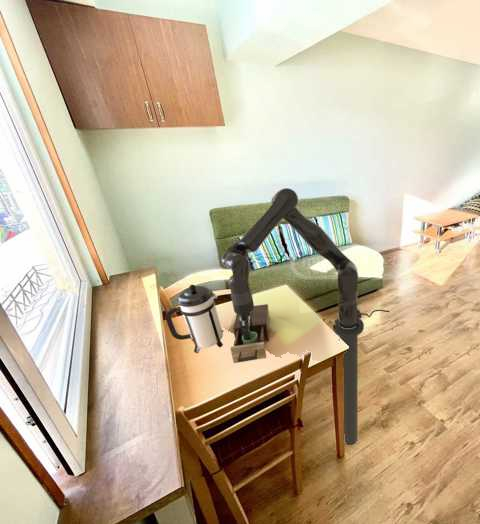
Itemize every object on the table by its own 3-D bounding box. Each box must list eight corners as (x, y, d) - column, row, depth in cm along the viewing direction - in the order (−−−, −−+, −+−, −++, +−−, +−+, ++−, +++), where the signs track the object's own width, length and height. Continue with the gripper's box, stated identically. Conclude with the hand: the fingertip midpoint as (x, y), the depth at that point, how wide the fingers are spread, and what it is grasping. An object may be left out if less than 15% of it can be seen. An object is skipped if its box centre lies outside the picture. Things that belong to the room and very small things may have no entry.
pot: (259, 340, 122) (257, 330, 119) (258, 350, 116) (256, 339, 114) (244, 343, 120) (242, 332, 118) (243, 353, 115) (240, 342, 112)
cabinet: (269, 340, 125) (266, 323, 121) (236, 345, 122) (232, 328, 118) (270, 319, 140) (267, 304, 136) (241, 323, 137) (238, 307, 133)
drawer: (265, 366, 109) (263, 351, 106) (231, 372, 106) (228, 357, 103) (267, 334, 127) (265, 321, 124) (238, 339, 125) (235, 325, 122)
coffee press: (211, 326, 133) (194, 271, 119) (234, 337, 126) (220, 280, 112) (176, 349, 120) (153, 291, 106) (200, 363, 113) (179, 303, 99)
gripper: (234, 292, 114) (241, 324, 121) (229, 310, 102) (237, 346, 108) (253, 289, 116) (259, 322, 122) (250, 307, 103) (257, 342, 109)
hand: (248, 333), depth 115 cm, fingers open, 8 cm apart
